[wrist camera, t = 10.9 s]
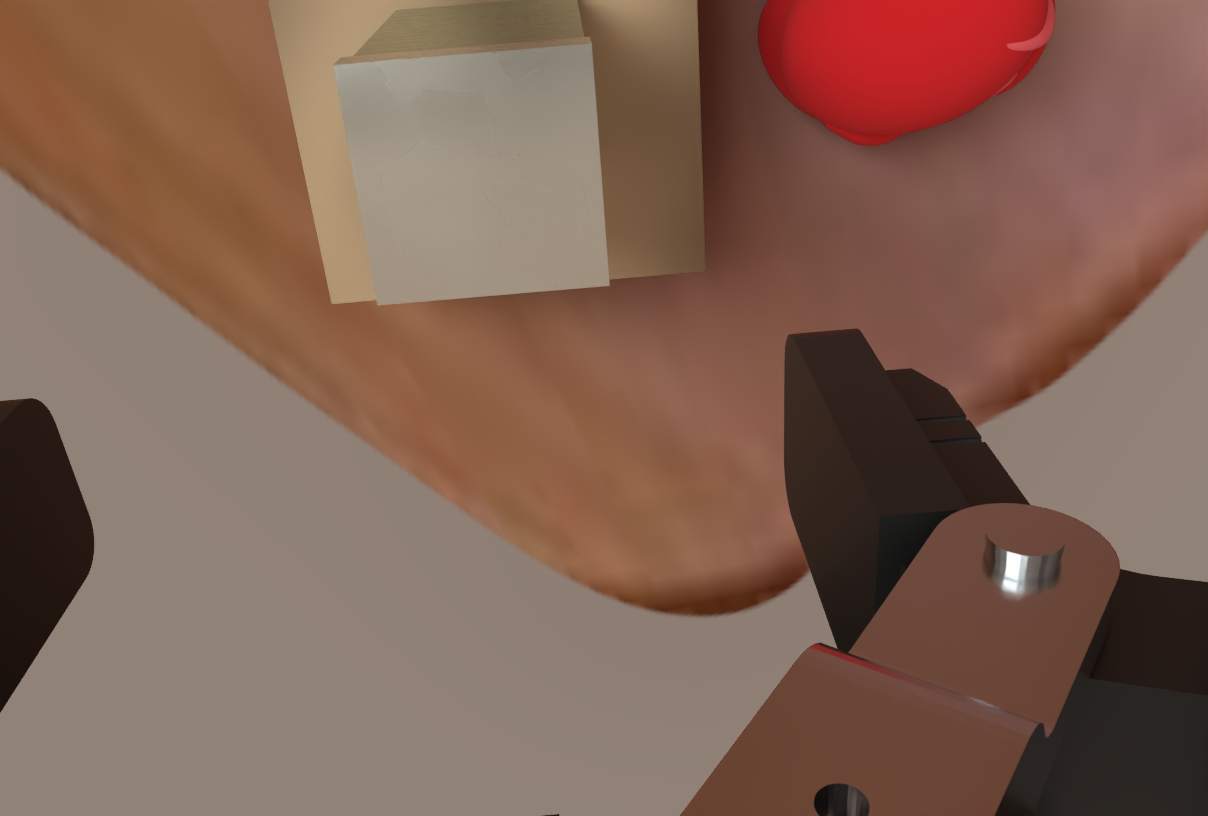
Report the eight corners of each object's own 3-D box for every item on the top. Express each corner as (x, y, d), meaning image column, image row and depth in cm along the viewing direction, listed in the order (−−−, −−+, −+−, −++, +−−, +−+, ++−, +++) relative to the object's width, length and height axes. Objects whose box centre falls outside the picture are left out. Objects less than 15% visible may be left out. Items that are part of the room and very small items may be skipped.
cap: (1065, -168, 27) (899, -145, 24) (1121, 64, 28) (966, 113, 25) (851, -44, 34) (703, -14, 31) (901, 139, 35) (761, 183, 32)
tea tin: (579, -10, 26) (591, 43, 19) (593, 176, 29) (609, 285, 21) (391, 6, 26) (333, 64, 19) (419, 190, 29) (377, 305, 21)
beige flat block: (670, -152, 29) (692, -152, 25) (685, 217, 34) (705, 271, 30) (289, -120, 29) (244, -114, 25) (359, 245, 34) (331, 304, 30)
